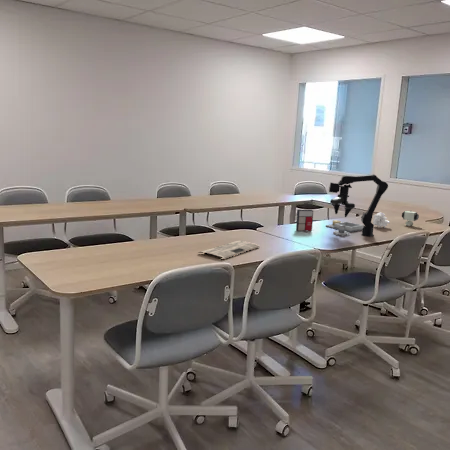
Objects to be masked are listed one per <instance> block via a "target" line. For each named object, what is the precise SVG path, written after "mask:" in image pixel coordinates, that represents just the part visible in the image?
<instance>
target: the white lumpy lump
mask: <svg viewBox="0 0 450 450" xmlns="http://www.w3.org/2000/svg"><path fill="white" fill-rule="evenodd" d="M372 219H373V220H372V224H373V225H374V226H377V228H380V229H382V227H383V229H386V227H387V226H388V224H389V225H390V221H389V220H388V217H386V214H385V213H384V212H381V211H379V212H377V213H376V214H373V217H372Z"/></svg>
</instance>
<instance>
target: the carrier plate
mask: <svg viewBox="0 0 450 450" xmlns="http://www.w3.org/2000/svg"><path fill="white" fill-rule="evenodd" d="M339 225H345V231H346V232H349V233H355V232H359V231H362V229H363V226H365V225H364V224H360V223H354V222H351V221H343V222H342V221H340V220H332V224H326V225H325V227H326V228H330V229H334V230H337V231H339ZM354 231H355V232H354Z"/></svg>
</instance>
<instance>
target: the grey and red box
mask: <svg viewBox="0 0 450 450" xmlns="http://www.w3.org/2000/svg"><path fill="white" fill-rule="evenodd" d="M313 221H314V210H313V209H297V211H296V228H295V230H296V231H297V232H312V231H313Z"/></svg>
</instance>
